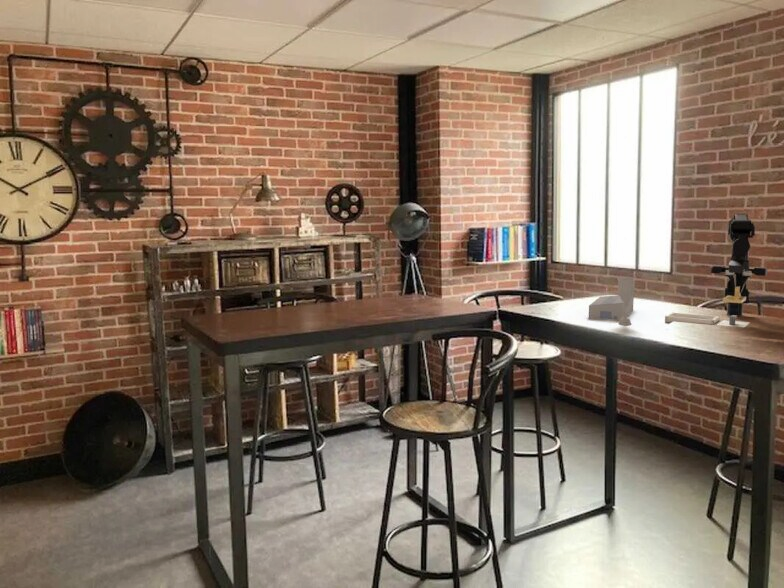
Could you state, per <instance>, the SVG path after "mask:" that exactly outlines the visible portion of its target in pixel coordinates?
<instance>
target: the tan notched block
mask: <svg viewBox="0 0 784 588" xmlns="http://www.w3.org/2000/svg"><path fill="white" fill-rule="evenodd" d="M740 294H741V293H740V286H736V287H735V296H726V297H725V298H724V297H723V298H722V302H723V303H728V302H731V303H743V302H744V301H745V300H746V297H743V296H741V295H740ZM743 304H744V303H743Z"/></svg>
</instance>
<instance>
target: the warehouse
mask: <svg viewBox="0 0 784 588" xmlns="http://www.w3.org/2000/svg"><path fill="white" fill-rule="evenodd" d="M634 298H635V294H634V293H633V296H632V298H631V299H630V301H629V302H627V314H626V315H627V318H629V315H630V314H631V313H632V312H633V311H634ZM623 311H624V302H623V301H622V300H621V298H620V296H619V294H617V295H604V296H599V297H598V298H597V299H596V300H594V301H593V302H592V303H590V304H589V305H588V319H599V320H613V321H614V320H617V321H620V319H621V318H623V317H624V312H623Z"/></svg>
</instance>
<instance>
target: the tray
mask: <svg viewBox="0 0 784 588" xmlns="http://www.w3.org/2000/svg"><path fill="white" fill-rule="evenodd" d="M666 322H668V323H667V324H669V323H670V324H671V323H673V322H683V323H697V324H706V325H715V324H716V323H717V322H720V316H717V315H706V314H695V313H683V312H670V313H669V314H667V315H665V316H664V323H666Z"/></svg>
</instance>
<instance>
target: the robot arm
mask: <svg viewBox="0 0 784 588" xmlns="http://www.w3.org/2000/svg"><path fill="white" fill-rule="evenodd" d="M755 229H756V226H755V224H754V222H752V220H751V219H749V218H748V214H747V213H735V214H733V218H731V219H730V220H729V221H728V227H727V235H728V236H729V241H730V242H731V256H730V257H731V258H730V261H729V263H728V267H726V266H725V265H719V264H718V265H713V266H712V267H711V269H710V273H711V274H718V275H719V274H721V273H725V275H724V276H725V277H727V278H728V282H727V284H726V287H725V288H724V295H723V298H725V297H726V296H735V287H736V286H740V293H741V294H740V295H741V296H743V297H746V300H745V301H744V302H743V303H731V302H727V307H726V309H727V310H726V314H725V316H729V317H730V316H732V315H737V317H745V314H743V313H744V311H743V310H744V304H749V302H750V301H749V299H750V291H749V289H748V288H747V281H748V280H749V278H752V277H753V274H754V275H755V276H762V277H766V276H767V275H768V268H767V267H765V266H764V267H763V266H755V267H753V268H751V263H750V262H751V261H750V260H749V252H750V249H751V243H750V240H749V239H752V238H754V237H753V236H755V233H756V232H755V231H756V230H755Z"/></svg>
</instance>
